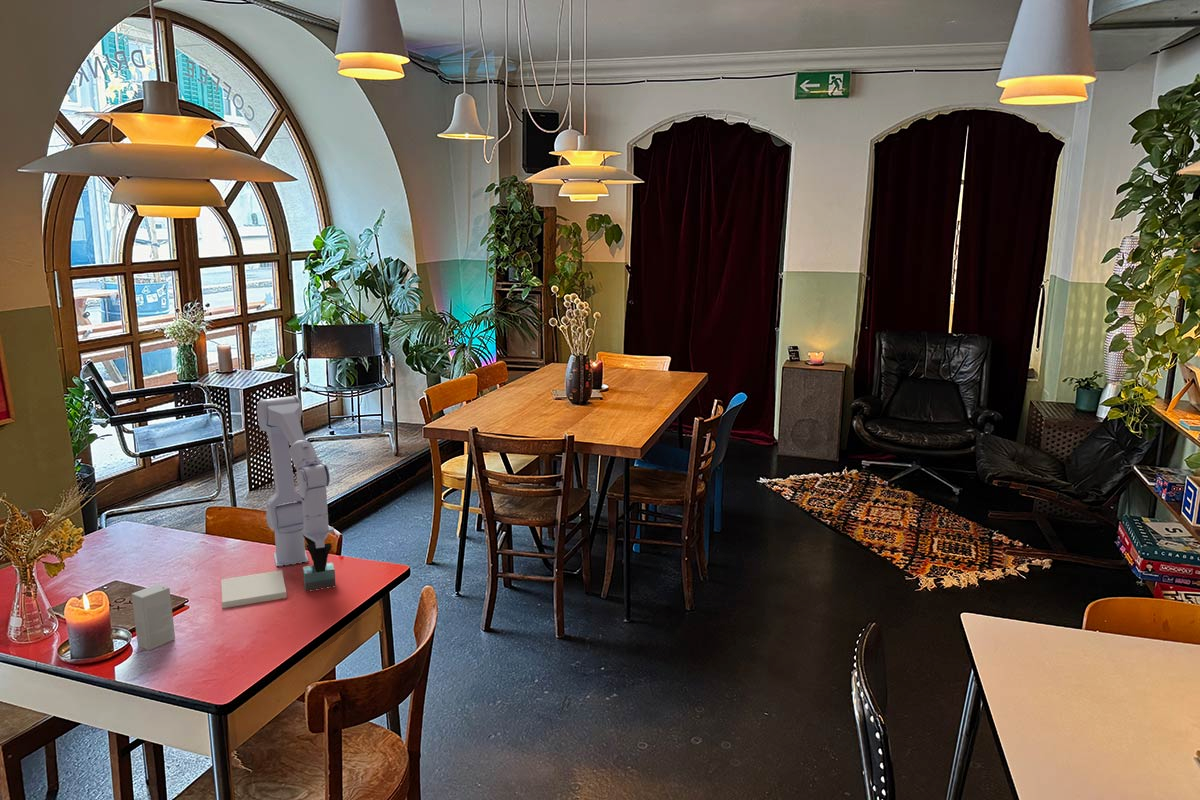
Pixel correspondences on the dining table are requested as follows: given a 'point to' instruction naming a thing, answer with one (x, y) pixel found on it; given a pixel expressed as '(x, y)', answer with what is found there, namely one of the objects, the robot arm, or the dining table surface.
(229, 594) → the stand tile
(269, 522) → the robot arm
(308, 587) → the block
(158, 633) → the skincare box
